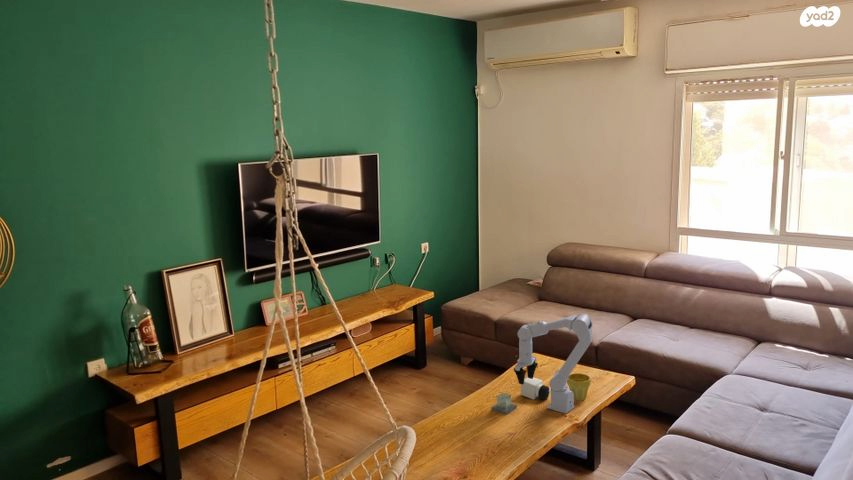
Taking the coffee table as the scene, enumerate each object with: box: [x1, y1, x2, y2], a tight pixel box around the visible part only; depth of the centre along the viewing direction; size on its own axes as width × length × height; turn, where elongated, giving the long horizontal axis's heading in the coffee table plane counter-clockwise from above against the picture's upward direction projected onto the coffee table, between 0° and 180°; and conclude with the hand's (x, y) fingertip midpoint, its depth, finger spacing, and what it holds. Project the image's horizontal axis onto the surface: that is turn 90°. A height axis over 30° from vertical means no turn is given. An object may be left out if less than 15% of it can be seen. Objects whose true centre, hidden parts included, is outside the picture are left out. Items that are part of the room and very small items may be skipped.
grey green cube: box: [496, 392, 512, 409], centre depth 287 cm, size 5×5×5 cm
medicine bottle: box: [520, 376, 551, 401], centre depth 298 cm, size 7×7×12 cm
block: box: [490, 403, 518, 416], centre depth 288 cm, size 8×8×2 cm
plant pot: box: [566, 372, 592, 402], centre depth 295 cm, size 10×10×10 cm
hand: (525, 381), depth 291 cm, fingers open, 7 cm apart
